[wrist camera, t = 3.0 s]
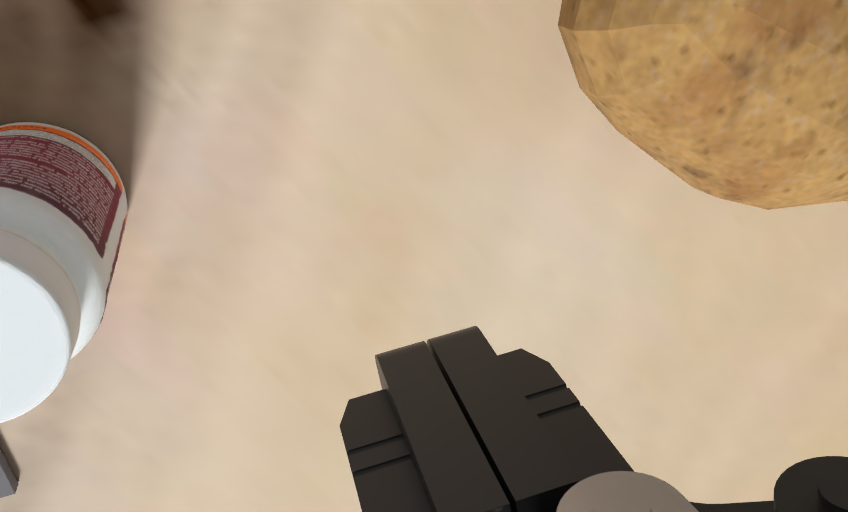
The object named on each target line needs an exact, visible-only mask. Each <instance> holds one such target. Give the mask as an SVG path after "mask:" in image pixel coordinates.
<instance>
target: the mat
mask: <svg viewBox="0 0 848 512" xmlns="http://www.w3.org/2000/svg"><path fill="white" fill-rule="evenodd" d="M17 486H18V482H17V480H16V478H15V476H14V474H13V472H12V470H11V468H10V466H9V464H8V462H7V460H6V458H5V456H4V454H3V452H2V451H1V449H0V498H2V497H5V496H9V495H12V494H15V492H16V489H17Z"/></svg>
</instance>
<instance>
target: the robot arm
mask: <svg viewBox="0 0 848 512" xmlns="http://www.w3.org/2000/svg"><path fill="white" fill-rule="evenodd" d="M375 359H376V365H377V369H378V373H379V378H380V382H381V386H382V390H380V391H377V392H374V393H370V394H367V395H363V396H360V397H357V398H353V399H350V400H349V401H348V404H347V407H346V409H345V412H344V415H343V418H342V421H341V424H340V429H341V432H342V436H343V440H344V444H345V448H346V451H347V455H348V459H349V463H350V467H351V470H352V474H353V478H354V482H355V486H356V489H357V493H358V497H359V501H360V505H361V508H362V512H848V457H842V456H825V457H816V458H812V459H807V460H804V461H801V462H799V463H796V464H794V465H793V466H791V467H789V468H788V469H787V470H785V471H784V472H783V473H782V474H781V475H780V477H779V478H778V480H777V481H776V485H775V488H774V501H761V502H745V503H729V504H703V503H694V502H689V501H688V500H687V499H686V498H685V497H684V496H683V495H682V494H681V493H680V492H679V491H678V490H676V489H675V488H674V487H673V486H671V485H670V484H668V483H667V482H665V481H663V480H661V479H659V478H656V477H654V476H651V475H647V474H644V473H638V472H634V471H633V469H632V468H631V467H630V465H629V464H628V463H627V462H626V460H625V459H624V458H623V456H622V455H621V454H620V453H619V451H618V450H617V449H616V447H615V446H614V445H613V444H612V442H611V441H610V440H609V439H608V437H607V436H606V435H605V433H604V432H603V431H602V430H601V428H600V427H599V426H598V424H597V423H596V422H595V421H594V419H593V418H592V417H591V415H590V414H589V413H588V412H587V410H586V409H585V408H584V407H583V406H581V405H580V402H579V400H578V399H577V398H576V396H575V395H574V394H573V392H572V391H571V390H570V389H569V388H567V387H566V383H565V382H564V381H563V380H562V378H561V377H560V376H559V375H558V373H557V372H556V371H555V369H554V368H553V367H552V366H551V364H550V363H549V362H547V361H545V360H543V359H541V358H539V357H537V356H535V355H533V354H531V353H529V352H527V351H525V350H523V349H518V350H515V351H511V352H508V353H504V354H501V355H498V356H497V355H496V353H495V352H494V350H493V349H492V347H491V346H490V344H489V343H488V341H487V340H486V338H485V337H484V335H483V334H482V332H481V331H480V329H479V328H478V327H477V326H473V327H470V328H466V329H463V330H460V331H456V332H453V333H449V334H446V335H442V336H439V337H435V338H432V339H428V340H427V344H426V343H425V341H422V342H419V343H415V344H412V345H408V346H405V347H401V348H398V349H394V350H391V351H388V352H384V353H381V354H377V355H375Z"/></svg>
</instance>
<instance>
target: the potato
mask: <svg viewBox="0 0 848 512" xmlns="http://www.w3.org/2000/svg"><path fill="white" fill-rule="evenodd" d="M558 27H559V30H560V32H561V35H562V38H563V41H564V44H565V47H566V49H567V52H568V55H569V58H570V61H571V64H572V67H573V69H574V72H575V75H576V78H577V81H578V84H579V86H580V88H581V90H582V91H583V92H584V93H585V94H586V95H587V96H588V98H589V99H590V100H591V101H592V102H593V103H594V104H595V106H596V107H597V108H598V109H599V110H600V111H601V113H602V114H603V115H604V116H605V117H606V118H607V119H608V121H609V122H610V123H611V124H612V125H613V126H614V127H615V129H616V130H617V131H618V132H620V133H621V134H622V135H624V136H625V137H626V138H628V139H629V140H630V141H632V142H633V143H634V144H636V145H637V146H638V147H640V148H641V149H642V150H643V151H645V152H646V153H647V154H649V155H650V156H651V157H653V158H654V159H655V160H657V161H658V162H659V163H661V164H662V165H663V166H665V167H666V168H667V169H669V170H670V171H671V172H673V173H674V174H675V175H677V176H678V177H680V178H681V179H682V180H684V181H685V182H686V183H688V184H689V185H690V186H692V187H693V188H696V189H698V190H701V191H703V192H706V193H708V194H711V195H713V196H716V197H718V198H721V199H725V200H730V201H734V202H738V203H742V204H746V205H751V206H755V207H759V208H763V209H768V210H769V209H778V208H786V207H795V206H804V205H812V204H821V203H830V202H839V201H848V0H562V5H561V11H560V17H559V22H558Z"/></svg>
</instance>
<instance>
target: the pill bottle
mask: <svg viewBox="0 0 848 512" xmlns="http://www.w3.org/2000/svg"><path fill="white" fill-rule="evenodd" d="M126 219H127V199H126V193H125V188H124V186H123V183H122V180H121V178H120V176H119V174H118V172H117V170H116V169H115V167H114V165H113V164H112V163H111V161H110V160H109V159H108V158H107V157H106V156H105V154H104V153H103V152H102V151H101V150H99V149H98V148H97V147H96V146H95V145H93V144H92V143H91V142H89V141H88V140H86V139H85V138H83V137H82V136H80V135H78V134H76V133H74V132H72V131H70V130H67V129H64V128H61V127H58V126H54V125H49V124H45V123H34V122H18V123H11V124H5V125H2V126H0V423H2V422H5V421H8V420H11V419H13V418H16V417H18V416H20V415H22V414H24V413H26V412H27V411H29V410H31V409H33V408H34V407H36V406H37V405H38V404H40V403H41V402H42V401H43V400H44V399H45V398H46V397H47V396H48V395H49V394H50V393H51V392H52V391H53V390H54V389H55V388H56V386H57V385H58V384H59V382H60V381H61V379H62V377H63V376H64V374H65V372H66V369H67V367H68V364H69V361H70V359H72V358H73V357H74V356H75V355H76V354H77V353H79V352H80V351H81V350H82V348H83V347H84V346H85V345H86V344H87V343H88V342H89V341H90V339H91V338H92V337H93V335H94V334H95V332H96V330H97V329H98V327H99V325H100V323H101V321H102V318H103V315H104V311H105V307H106V303H107V297H108V292H109V288H110V285H111V281H112V277H113V273H114V269H115V265H116V262H117V258H118V253H119V249H120V245H121V242H122V237H123V234H124V230H125V225H126Z"/></svg>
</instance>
